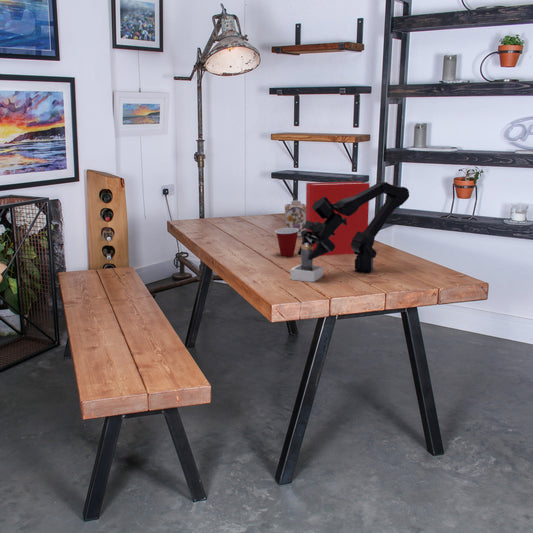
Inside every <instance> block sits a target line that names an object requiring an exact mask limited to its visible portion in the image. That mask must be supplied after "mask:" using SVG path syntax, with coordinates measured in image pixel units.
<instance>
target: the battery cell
mask: <svg viewBox="0 0 533 533" xmlns="http://www.w3.org/2000/svg"><path fill="white" fill-rule="evenodd" d="M301 244H302V243H301ZM301 244H300V246H301V255H300V256H301V257H300V258H301V259H300V261H301V262H300V264H301V270H305V271H313V266H314V263H313V262H314V261H313V260H314V259H312V260H309V256H310V255H311V253H312V252H313V245H312V244H310V243H304V244H302V245H301Z"/></svg>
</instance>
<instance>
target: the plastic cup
mask: <svg viewBox="0 0 533 533" xmlns="http://www.w3.org/2000/svg"><path fill="white" fill-rule="evenodd" d="M298 231H299V229H297V228H285V227H283V228H278V229H276V230H275V231H274V234H276V238H277V242H278V249H279V253H280V256H281V257H283V256H285V257H284V258H290V257H291V258H292V257H294V255H295V250H296V247H297V246H296V245H297V238H298V237H297V234H298Z"/></svg>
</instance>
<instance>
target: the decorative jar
mask: <svg viewBox="0 0 533 533" xmlns="http://www.w3.org/2000/svg"><path fill="white" fill-rule="evenodd" d="M305 222H306V203H301V200H292V201H291V203H288V204H285V205H284V228H297V229H299V231H298V234H297V236H301V233H302V231H303V230H306V229H305V228H303V227H304V225H305Z"/></svg>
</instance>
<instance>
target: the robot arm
mask: <svg viewBox="0 0 533 533" xmlns="http://www.w3.org/2000/svg"><path fill="white" fill-rule="evenodd" d="M382 194H385V201H384V203H383V205H382V206H381V207H380V209H379V210H378V212H377V213H376V214H375V216H374V217H373V218H372V220H371V221H370V223H368V227H367V228H366V229H365V231H363V232H359V231H358V232H357V233H356V235H355V236H354V237H353V238H352V242H351V248H352V250H353V251H354V254H353V255H355V257H356V258H355V259H354V272H355V273H356V272H357V273H366V274H371V273H372V272H373V271H374V270H375V268H374V259H375V258H376V256H377V251H376V250H375V249H374V248H373V247H374V244H375V238H376V236H377V235H378V233H380V231H381V230H382V228H383V227H384V225H385V224H386V223H387V221H388V220H389V218H390V217H391V215H392V214H393V213H394V211H395V210H396V209H397V208H399V207H401V206H403V205H404V204H405V203H406V202H407V200H408V199H409V197H410V191H409V189H408V188H407V187H405V186H400V185H393V184H390V183H388V182H386V181H378V182H377V183H375V184H373V185H372V186H369V188H368V189H366V190H364V191H362V192H361V193H359V194H357V195H355V196H353V197H348V198H344V199H341V200H339V201H338V202H337V203H334V204H331V203H330V201H329V200H328V199H327V197H322V198H321V199H319V200H318V201H316V202H315V203H314V204H313V206H312V209H313V210H314V211H315V212H316V213H317V214H318V215H319V216H320V217H321V218H322V219H324V218H325V219H326V220H325V221H324V222H323V223H320V222H317V221H316V222H315V223H313V222H310V221H307V220H306V222H305V225H304V227H303V228H305V229H308V230H311V231H308V230H303V231H302V233H301V237H300V238H301V244H300V247H299V249H298V252H297V255H298V256H301V245H302V244H304V243H310V244H312V245H313V244H315V243H316V242H317V243H316V248H315V249H314V250H313V252H312V253H311V255H310V256H309V260H312V259H313V260H314V259H316V258H318V257H322V256H321V255H323V254H325V253H329V251H331V252H332V251H333V250H334V249H335V244H334V243H333V242H332V241H331V240H330V239H329V238H330V236H331V235H332V236H334V235H335V233H334V232H335V230H336V229H337V228H338V227H339V226H340V225H341V224H343V225H347V221H346V220H347V219H346V218H343V217H342V216H341V215H340V214H342V215H345V216H351V215H352V214H354V213H355V212H356V211H357V210H358V209H359V207H360V206H361V205H363V204H365V203H366V202H368V201H369V202H370V201H372V200H373V199H375V198H376V197H378V196H381V195H382ZM334 211H337V213H339V214H336V213H335V212H334ZM313 234H314V235H313ZM313 246H314V245H313Z"/></svg>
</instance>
